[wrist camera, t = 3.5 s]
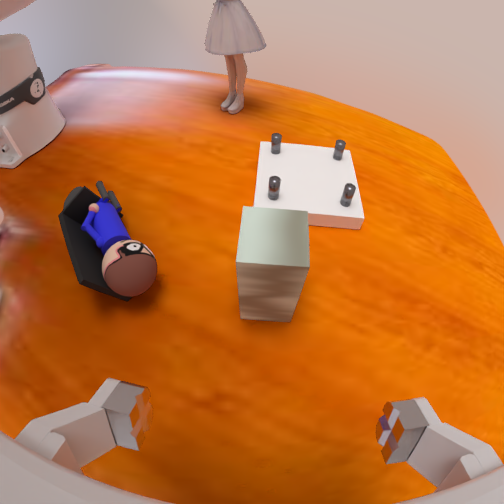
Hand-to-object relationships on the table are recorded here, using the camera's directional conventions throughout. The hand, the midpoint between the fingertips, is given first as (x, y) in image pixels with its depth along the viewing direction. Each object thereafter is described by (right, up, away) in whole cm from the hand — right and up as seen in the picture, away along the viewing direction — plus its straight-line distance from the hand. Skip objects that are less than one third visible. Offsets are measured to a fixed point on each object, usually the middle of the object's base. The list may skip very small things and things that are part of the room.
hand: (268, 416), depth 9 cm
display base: (+6, +13, +27) cm, 31 cm away
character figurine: (-15, +5, +22) cm, 27 cm away
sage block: (+1, +1, +19) cm, 19 cm away
